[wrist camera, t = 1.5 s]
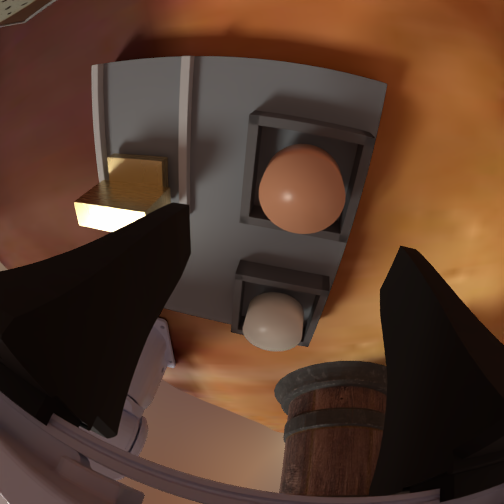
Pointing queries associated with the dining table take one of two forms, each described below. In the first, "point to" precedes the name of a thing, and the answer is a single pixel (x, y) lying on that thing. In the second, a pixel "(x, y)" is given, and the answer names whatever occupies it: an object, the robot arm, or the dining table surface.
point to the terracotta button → (302, 189)
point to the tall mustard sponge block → (125, 192)
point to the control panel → (240, 167)
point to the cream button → (274, 322)
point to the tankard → (332, 427)
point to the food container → (20, 10)
